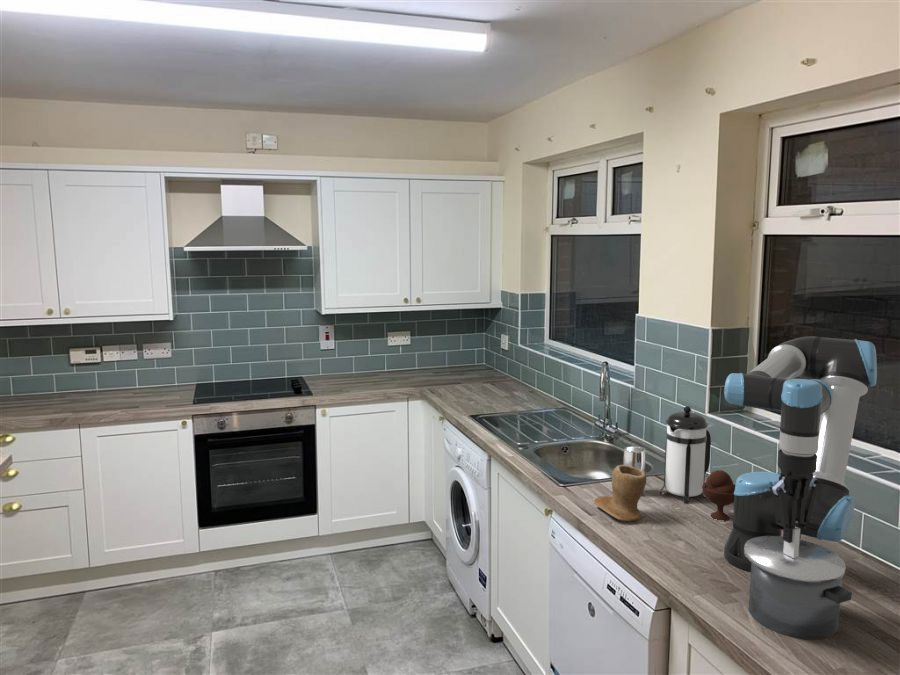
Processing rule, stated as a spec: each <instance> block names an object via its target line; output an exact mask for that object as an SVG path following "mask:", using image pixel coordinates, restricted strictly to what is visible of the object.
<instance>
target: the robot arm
mask: <svg viewBox="0 0 900 675" xmlns="http://www.w3.org/2000/svg"><path fill="white" fill-rule="evenodd" d="M877 360H878V359H877V350H876V346H875V344H874V343H873V342H871V341H867V340H858V339H857V338H854V339H847V338H834V337H833V338H832V337H821V336H811V335H810V336H801V337H797V338H793V339H789V340H788V341H787V340H786V341H784V342H782V343H780V344H779V345H776V346H775V347H773V348H772V349H771V351H769V353H768V356H767V358H766V359H764V360H763V361H762V362H760V364H758V365H757V366H755V367H754V368H753V369H751V370H750V371H749V372H748V373H743V372H739V373H735V372H734V373H733V372H731V373H730V374H729V375H728V376H727V377H726V379H725V382H724V390H723V394H724V399H725V401H726V402H727V403H728V404H730V405H735V406H740V407H745V408H746V407H748V408H753V409H754V408H755V409H763V410H768V411H769V410H770V411H777V412H780V423H779V424H780V425H779V430H780V431H779V441H778V442H779V443H778V447H779V450H778V453H777V454H778V455H777V466H778V468H779V470H780V473H777V472H772V471H752V472H746V473H742V474H741V475H739V476H738V477H737V478H736V481H735V491H734V503H733V516H732V517H733V518H732V528H731V531H730V534H729V536H728V537H727V540H726V542H725V544H724V548H723V550H724V551H723V552H724V553H723V556H724V559H725V560H726V561H727V562H728V563H730V565H732V566H734V567H736V568H739V569H742V570H745V571H748V572H751V562H750V561H749V560H748V559H747V558H746V556H745V554H744V546H745V543H746V542H747V541H748V540H750V539H752V538H755V537H761V536H781V537H783V540H784V548H783V553H784V554H786V555H788V556H790V557H792V558H796V557H798V554H799V540H801V537H802V535H803V536H808V537H811V538H815V539H817V540H820V541H821V540H824V541H828V542H832V543H833V542H834V543H837V542H840V541H842V540H843V539H844V538H845V537H846V535H847V533H848V531H849V528H850V527H851V526H850V525H851V523H852V520H853V516H854V510H855V505H856V500H855V498H854V497H853V496H852V495H850V488H849V487H848V485H846V483H845V479H846V478H845V477H846V473H847V472H846V471H847V466H848V462H849V456H850V451H851V445H852V439H853V435H854V431H855V429H854V428H855V422H856V418H857V413H858V407H859V402H860V397H863V396H864V395H866V394H868V390H869V387H874V386H876V385H877V381H878V379H877V378H878V365H877V363H878V362H877ZM782 532H783V535H782Z"/></svg>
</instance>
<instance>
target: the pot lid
mask: <svg viewBox="0 0 900 675" xmlns="http://www.w3.org/2000/svg"><path fill="white" fill-rule="evenodd" d="M783 548H784V540H783V536H782V535H781V536H761V537H755V538H752V539H750V540H748V541H747V542H746V543H745V546H744V554H745V556H746V558H747V559H748V560H749V561H750V562H751V563H753V564H754V565H756V566H757V567H759V568H761V569H763V570H765V571H767V572H770V573H772V574H775V575H778V576H781V577H785V578H789V579H793V580H798V581H805V582H831V581H835V580H838V579H840V578H842V579H843V577H844V576H845V574H846V568H847V567H846V563H845V561H844V560H843V558H842V557H841V556H840V557H841V558H840V557H839V555H838V554H837V553H835V552H834V551H832V550H830V549H828V548H826V547H824V546H822V545H820V544H816V543H814V542H810V541H807V540H805V539H804V540H803V539H800V540H799V554H798V557H796V558H792V557H790V556H788V555H786V554H784V553H783Z"/></svg>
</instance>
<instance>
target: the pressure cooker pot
mask: <svg viewBox="0 0 900 675" xmlns="http://www.w3.org/2000/svg"><path fill="white" fill-rule="evenodd" d="M838 556H839V555H838ZM839 557H840V558H841V559H842V556H839ZM749 580H750V581H749V595H748V612H749V613H750V614H749V615H750V616H752V618H753V619H754V620H755V621H756V622H757V623H758V624H760V625H762V626H763V627H765V628H766V629H769V630H771V631H772V632H776V633H778V634H781V635H784V636H787V637H792V638H796V639H801V640H821V639H828V638H830V637H832V636H833V635H835V634H836V633H837V632H838V630H839V624H840V623H839V622H840V612H841V611H840V608H841V604H842V603H845V602H849V601H851V600H852V596H853V595H852V594H853V592H852V591H849V590H848V589H846V588H844V587H843V577H842V578H840V579H838V580H835V581H831V582H805V581H798V580H793V579H789V578H785V577H781V576H778V575H775V574H772V573H770V572H767V571H765V570H763V569H761V568H759V567H757V566H756V565H754V564H753V563H751V571H750V579H749Z"/></svg>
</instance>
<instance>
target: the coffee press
mask: <svg viewBox="0 0 900 675" xmlns="http://www.w3.org/2000/svg"><path fill="white" fill-rule="evenodd" d="M691 411H692V408H691V407H690V406H688V405H687V406H685V407H683V411H677V412H673V413H672V414H670V415H669V416H668V417H667V419H666V420H665V424H666V431H665V445H664V446H665V449H664V450H665V451H664V472H663V474H664V475H663V486H662V487H661V488H660V489H659V493H660V494H661V493H662V491H663V489H664V488H665V490H664V495H665V494H666V493H670V494H672V495H675V496H679V497H683V504H690V497H697V496H699V495H701V496H702V497H703V495H704V493H703V489H702V486H703V483H705V482H706V481H705V478H706V473H707V472H708V470H709V468H710V464H711V463H710V461H711V445H712V439H711V438H712V436H711V433H710V431H709V430H707V429H708V427H709V423H708V422H707V420H706V418H705V417H704V416H703V415H701V414H699V413H695V412H691Z"/></svg>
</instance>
